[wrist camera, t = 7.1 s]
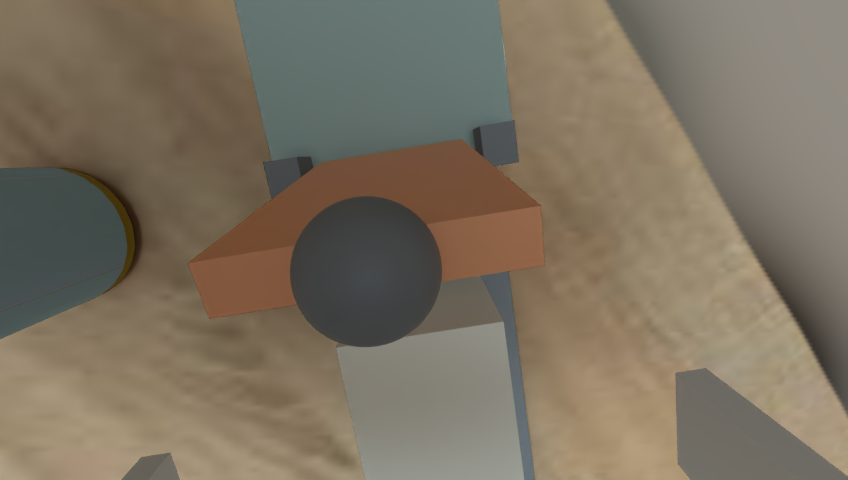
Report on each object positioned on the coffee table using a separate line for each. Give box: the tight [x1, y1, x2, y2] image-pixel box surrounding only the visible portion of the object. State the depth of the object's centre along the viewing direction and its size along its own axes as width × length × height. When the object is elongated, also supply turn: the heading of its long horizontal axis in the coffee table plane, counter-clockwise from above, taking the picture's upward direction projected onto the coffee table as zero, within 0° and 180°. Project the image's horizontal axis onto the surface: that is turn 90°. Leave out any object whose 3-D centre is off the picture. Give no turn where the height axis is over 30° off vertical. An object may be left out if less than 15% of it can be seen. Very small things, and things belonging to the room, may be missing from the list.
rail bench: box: [234, 0, 535, 480], centre depth 19 cm, size 32×9×10 cm, turn 9°
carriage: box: [336, 276, 524, 480], centre depth 17 cm, size 6×5×9 cm
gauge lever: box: [188, 139, 545, 347], centre depth 8 cm, size 2×4×9 cm, turn 100°
